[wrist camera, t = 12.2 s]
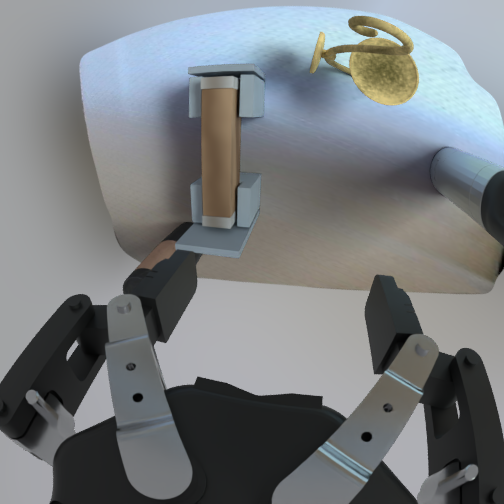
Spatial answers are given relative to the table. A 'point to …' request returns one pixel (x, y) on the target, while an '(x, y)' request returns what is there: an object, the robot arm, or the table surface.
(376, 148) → the table surface
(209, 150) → the brown wooden bar
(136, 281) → the travel mug
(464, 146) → the table surface
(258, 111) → the pair of grey brackets
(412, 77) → the wall sconce
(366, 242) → the table surface
